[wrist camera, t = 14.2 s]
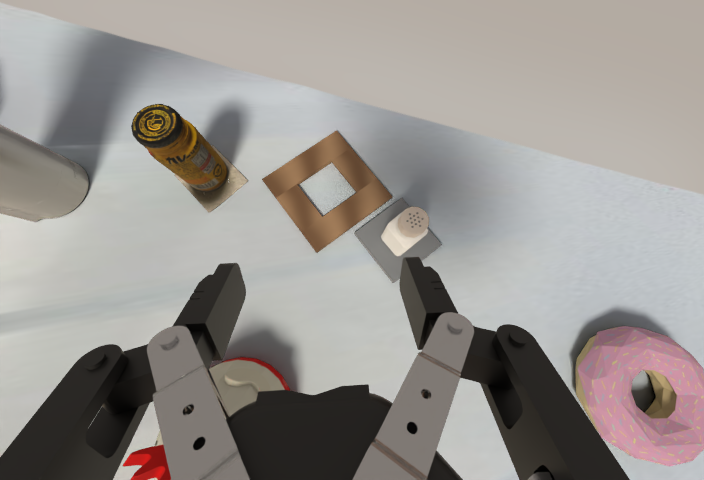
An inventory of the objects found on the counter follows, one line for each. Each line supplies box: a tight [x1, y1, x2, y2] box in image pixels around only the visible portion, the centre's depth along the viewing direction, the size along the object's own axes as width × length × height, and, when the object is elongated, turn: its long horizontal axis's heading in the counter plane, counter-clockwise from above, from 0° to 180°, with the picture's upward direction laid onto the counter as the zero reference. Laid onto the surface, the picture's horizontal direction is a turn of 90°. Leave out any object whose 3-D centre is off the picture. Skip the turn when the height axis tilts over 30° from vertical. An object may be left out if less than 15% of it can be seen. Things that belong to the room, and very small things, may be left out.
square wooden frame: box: [262, 131, 392, 252], centre depth 40 cm, size 14×14×1 cm
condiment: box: [131, 104, 248, 212], centre depth 35 cm, size 7×8×12 cm
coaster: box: [354, 198, 442, 283], centre depth 39 cm, size 9×9×1 cm
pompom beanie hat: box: [123, 357, 290, 480], centre depth 26 cm, size 14×14×15 cm
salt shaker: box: [381, 207, 429, 256], centre depth 34 cm, size 4×4×10 cm
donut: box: [575, 326, 704, 466], centre depth 33 cm, size 16×15×5 cm
